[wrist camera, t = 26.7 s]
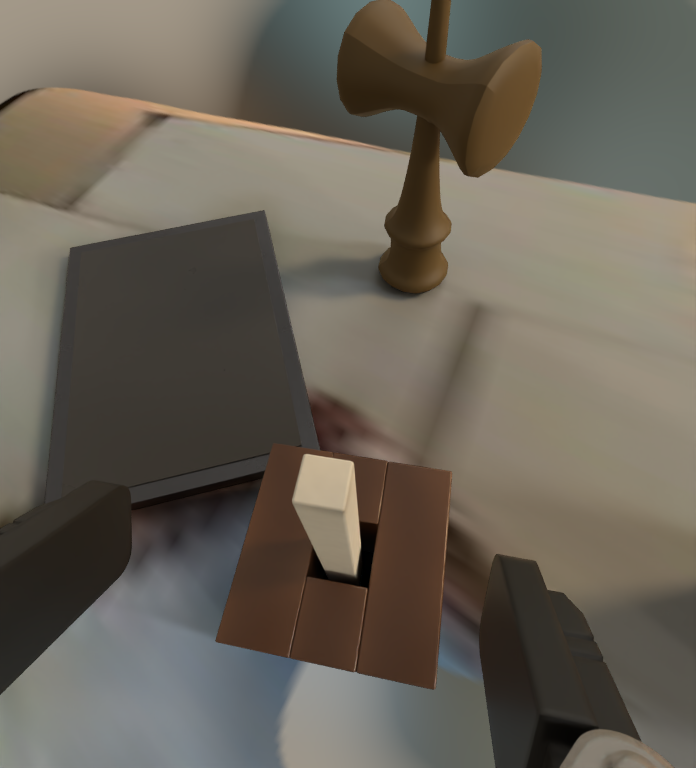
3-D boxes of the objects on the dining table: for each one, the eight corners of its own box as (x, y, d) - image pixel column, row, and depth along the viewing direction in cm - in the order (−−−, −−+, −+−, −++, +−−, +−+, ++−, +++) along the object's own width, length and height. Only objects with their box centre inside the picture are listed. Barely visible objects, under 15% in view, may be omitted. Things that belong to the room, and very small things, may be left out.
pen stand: (436, 509, 27) (452, 470, 22) (421, 685, 22) (436, 690, 17) (290, 484, 28) (272, 442, 23) (248, 647, 23) (214, 641, 18)
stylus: (363, 566, 25) (355, 459, 12) (359, 595, 24) (345, 513, 12) (337, 561, 25) (302, 451, 13) (332, 589, 25) (289, 503, 12)
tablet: (266, 219, 40) (264, 208, 39) (323, 463, 28) (321, 456, 27) (76, 256, 39) (69, 246, 38) (52, 529, 27) (40, 524, 26)
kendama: (438, 329, 33) (509, -29, 16) (340, 265, 37) (315, -82, 20) (487, 282, 35) (595, -78, 18) (390, 225, 39) (406, -117, 22)
